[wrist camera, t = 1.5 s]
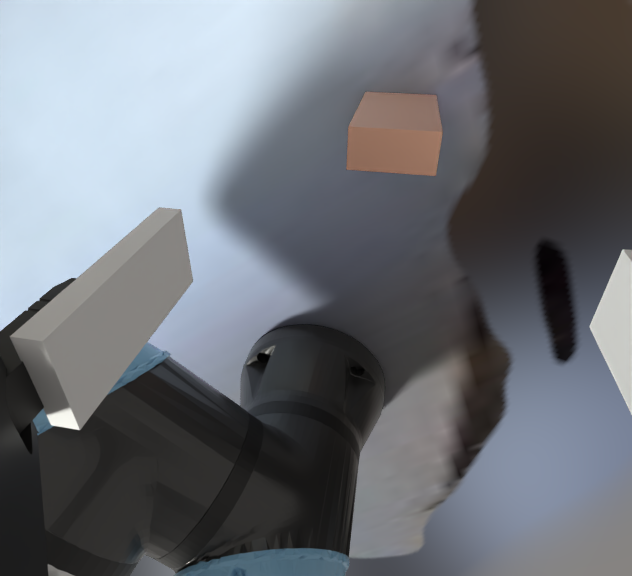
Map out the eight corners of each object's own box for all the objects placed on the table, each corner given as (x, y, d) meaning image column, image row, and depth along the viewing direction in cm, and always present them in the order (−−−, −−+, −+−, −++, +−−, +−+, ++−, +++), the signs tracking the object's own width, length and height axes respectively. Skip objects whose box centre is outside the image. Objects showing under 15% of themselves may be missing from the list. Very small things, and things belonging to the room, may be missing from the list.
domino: (431, 129, 34) (435, 176, 26) (363, 125, 35) (346, 169, 26) (436, 94, 33) (442, 131, 24) (365, 91, 33) (348, 126, 25)
